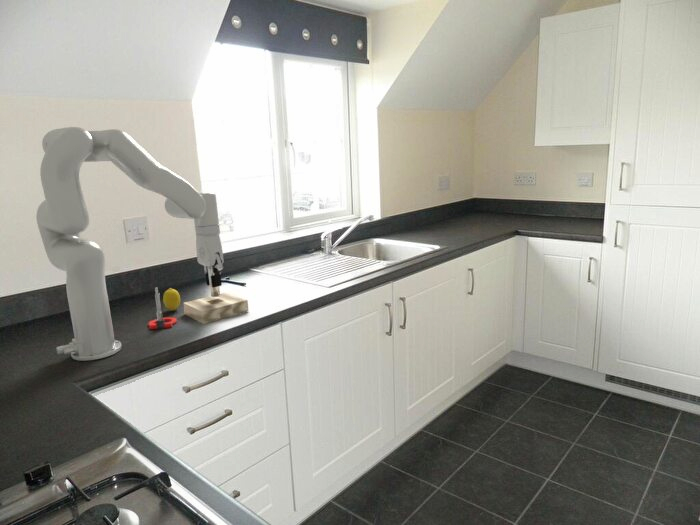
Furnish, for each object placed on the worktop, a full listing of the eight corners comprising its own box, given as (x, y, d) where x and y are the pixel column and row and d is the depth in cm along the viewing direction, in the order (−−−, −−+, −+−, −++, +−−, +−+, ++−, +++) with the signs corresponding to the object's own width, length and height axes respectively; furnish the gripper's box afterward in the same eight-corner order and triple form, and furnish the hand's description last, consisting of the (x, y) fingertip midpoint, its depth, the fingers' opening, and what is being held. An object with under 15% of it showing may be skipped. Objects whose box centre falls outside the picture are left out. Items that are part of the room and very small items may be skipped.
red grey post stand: (151, 322, 167) (146, 330, 158) (146, 283, 165) (141, 289, 156) (178, 319, 169) (175, 327, 160) (173, 280, 167) (170, 286, 158)
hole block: (203, 323, 162) (202, 311, 161) (184, 314, 172) (183, 302, 171) (248, 311, 172) (247, 299, 171) (228, 303, 182) (227, 292, 182)
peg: (213, 297, 169) (209, 264, 167) (209, 295, 171) (205, 263, 169) (221, 295, 171) (218, 263, 168) (217, 293, 173) (213, 261, 171)
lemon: (175, 307, 181) (173, 285, 179) (185, 309, 177) (182, 287, 175) (161, 311, 177) (158, 289, 175) (170, 314, 173) (167, 291, 171)
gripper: (185, 229, 170) (192, 283, 174) (208, 234, 158) (215, 292, 162) (206, 226, 174) (213, 278, 179) (230, 230, 162) (236, 287, 167)
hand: (214, 284), depth 170 cm, fingers closed on peg, 3 cm apart
